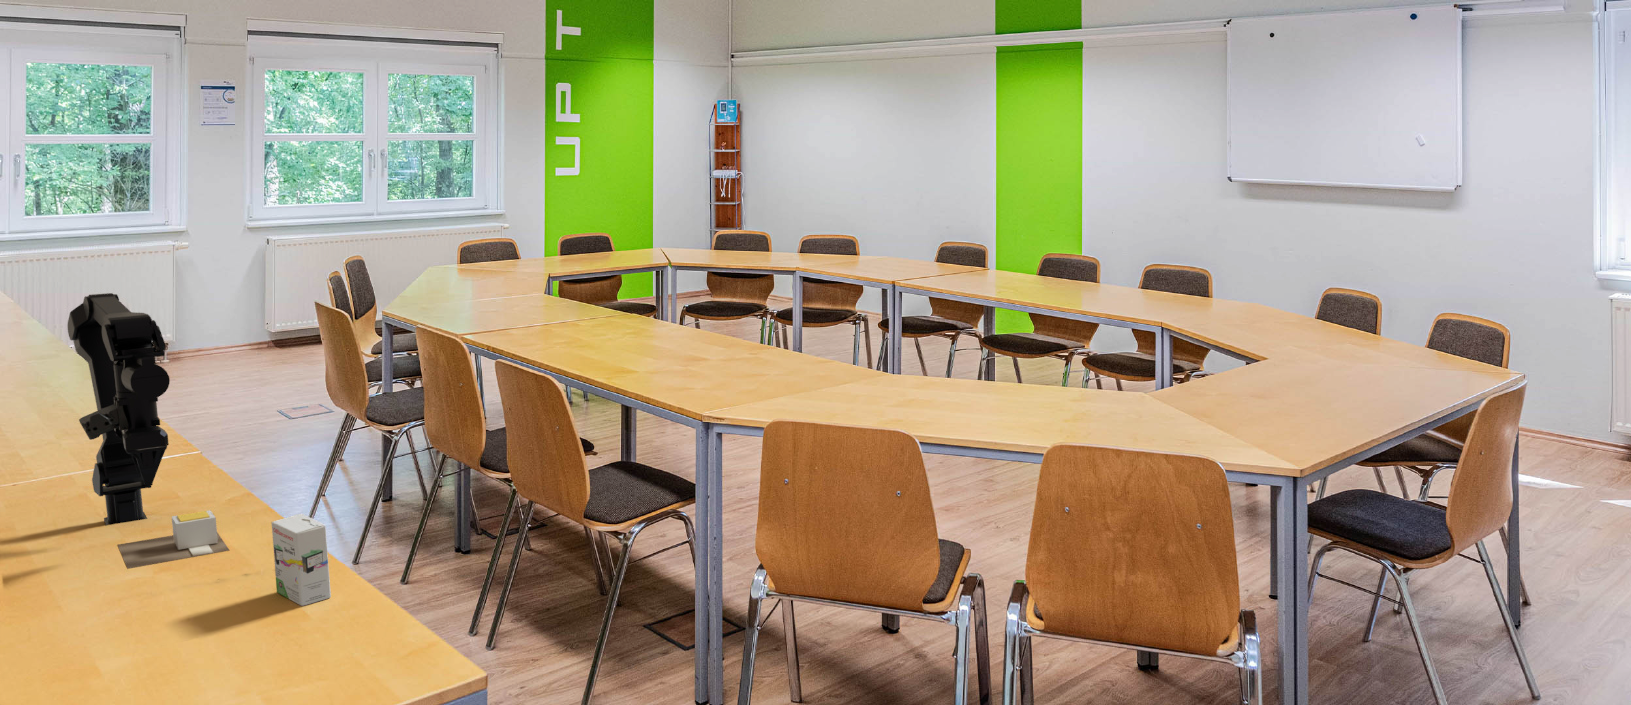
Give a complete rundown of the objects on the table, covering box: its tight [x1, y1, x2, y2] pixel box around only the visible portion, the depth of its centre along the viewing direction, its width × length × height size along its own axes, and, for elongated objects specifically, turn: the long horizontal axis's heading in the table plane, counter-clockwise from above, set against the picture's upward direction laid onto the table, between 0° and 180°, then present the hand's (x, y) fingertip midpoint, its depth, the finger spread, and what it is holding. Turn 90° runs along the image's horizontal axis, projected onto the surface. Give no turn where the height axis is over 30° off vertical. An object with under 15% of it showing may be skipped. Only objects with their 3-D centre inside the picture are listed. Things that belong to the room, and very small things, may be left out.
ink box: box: [271, 513, 332, 607], centre depth 183 cm, size 8×5×12 cm, turn 49°
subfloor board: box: [117, 532, 230, 570], centre depth 202 cm, size 14×15×1 cm
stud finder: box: [171, 509, 218, 550], centre depth 203 cm, size 5×6×5 cm
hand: (144, 478), depth 204 cm, fingers open, 9 cm apart
